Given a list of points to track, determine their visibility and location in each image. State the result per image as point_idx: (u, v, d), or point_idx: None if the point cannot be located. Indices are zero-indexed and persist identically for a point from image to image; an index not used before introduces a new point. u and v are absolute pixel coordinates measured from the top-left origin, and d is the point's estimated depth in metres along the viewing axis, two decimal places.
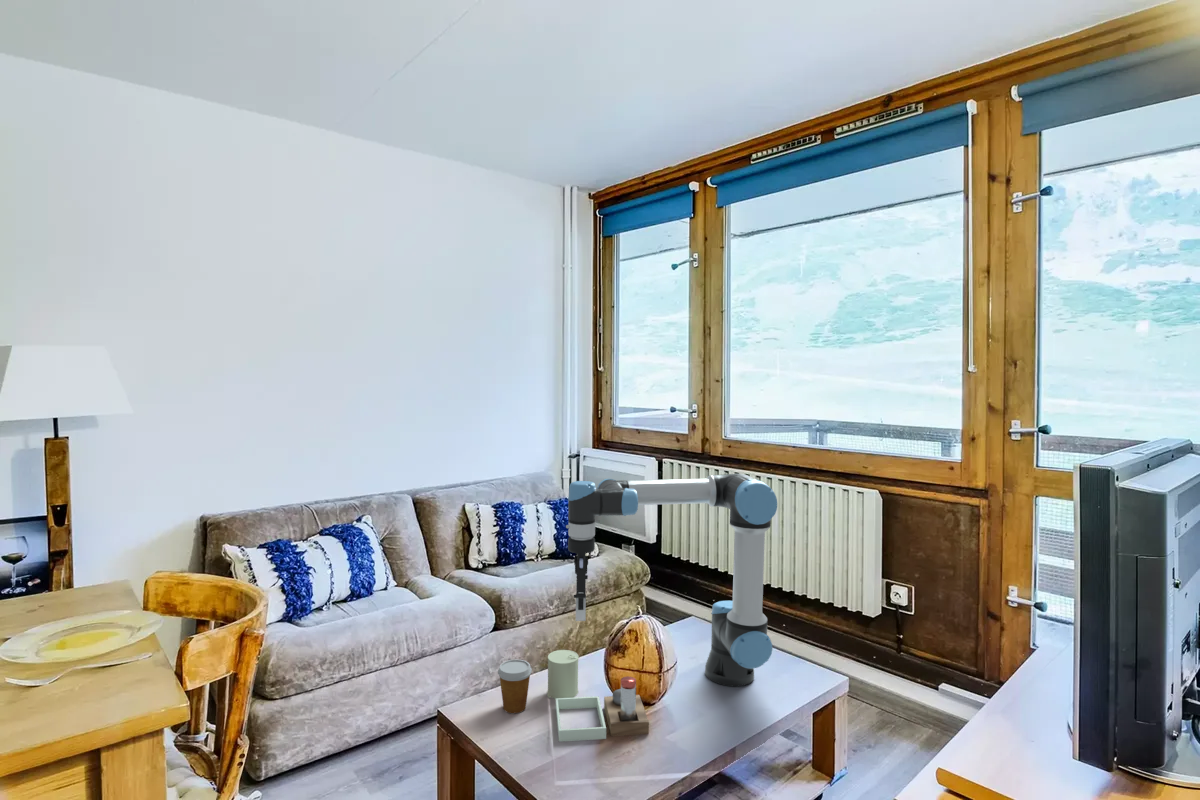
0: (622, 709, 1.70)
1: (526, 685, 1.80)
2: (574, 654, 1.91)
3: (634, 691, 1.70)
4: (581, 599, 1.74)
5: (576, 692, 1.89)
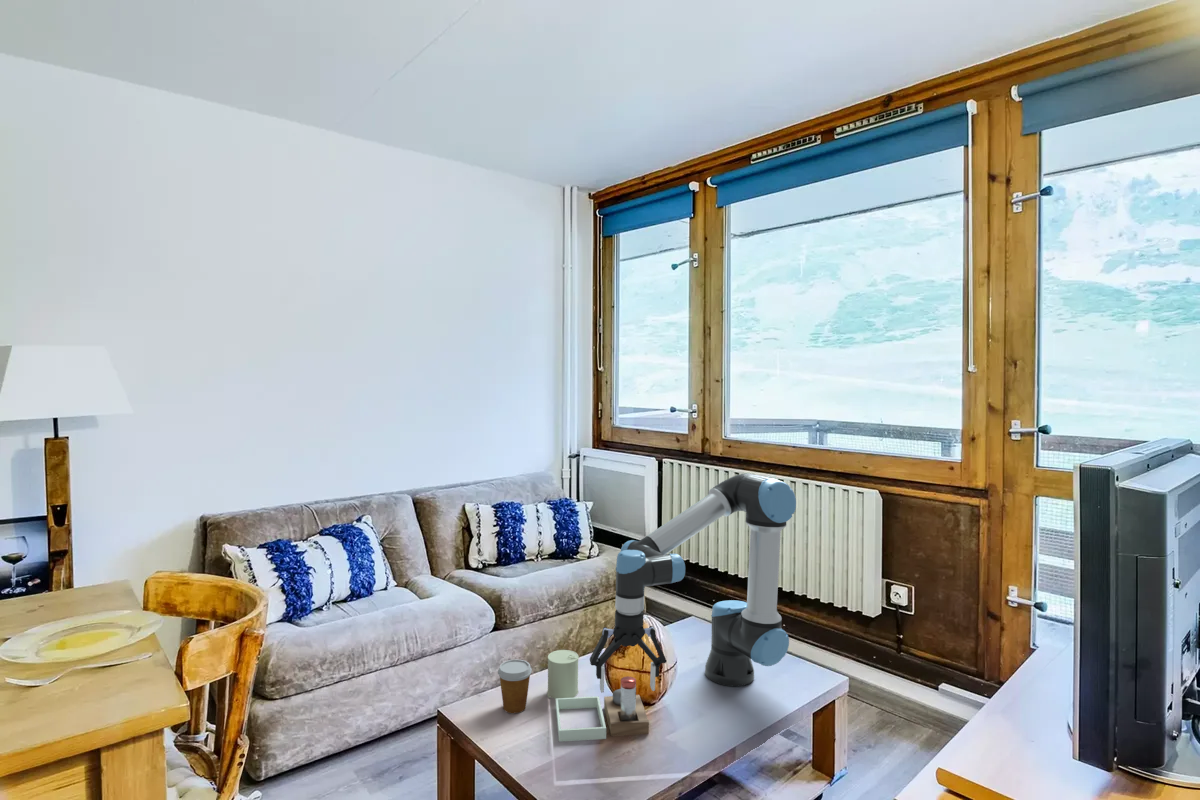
0: (622, 709, 1.70)
1: (526, 685, 1.80)
2: (574, 654, 1.91)
3: (634, 691, 1.70)
4: (596, 666, 1.70)
5: (576, 692, 1.89)
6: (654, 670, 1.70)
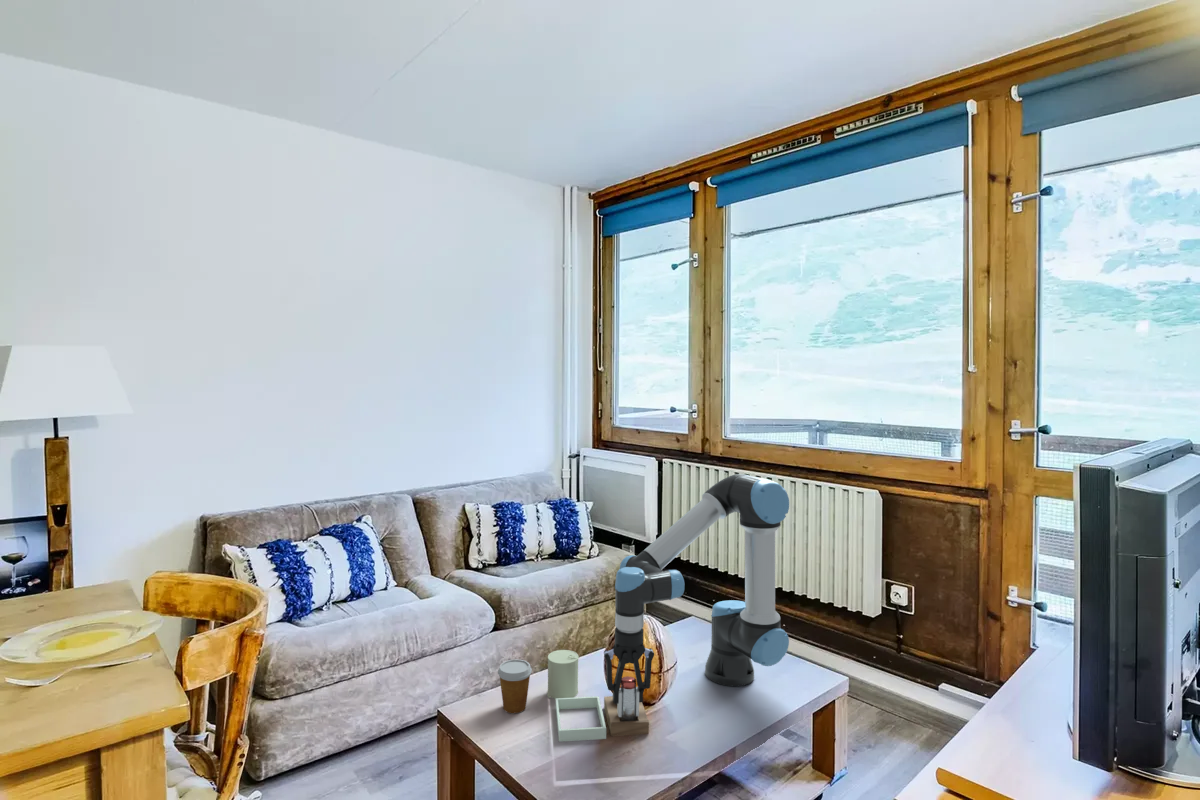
0: (622, 709, 1.70)
1: (526, 685, 1.80)
2: (574, 654, 1.91)
3: (634, 691, 1.70)
4: None
5: (576, 692, 1.89)
6: (638, 696, 1.70)
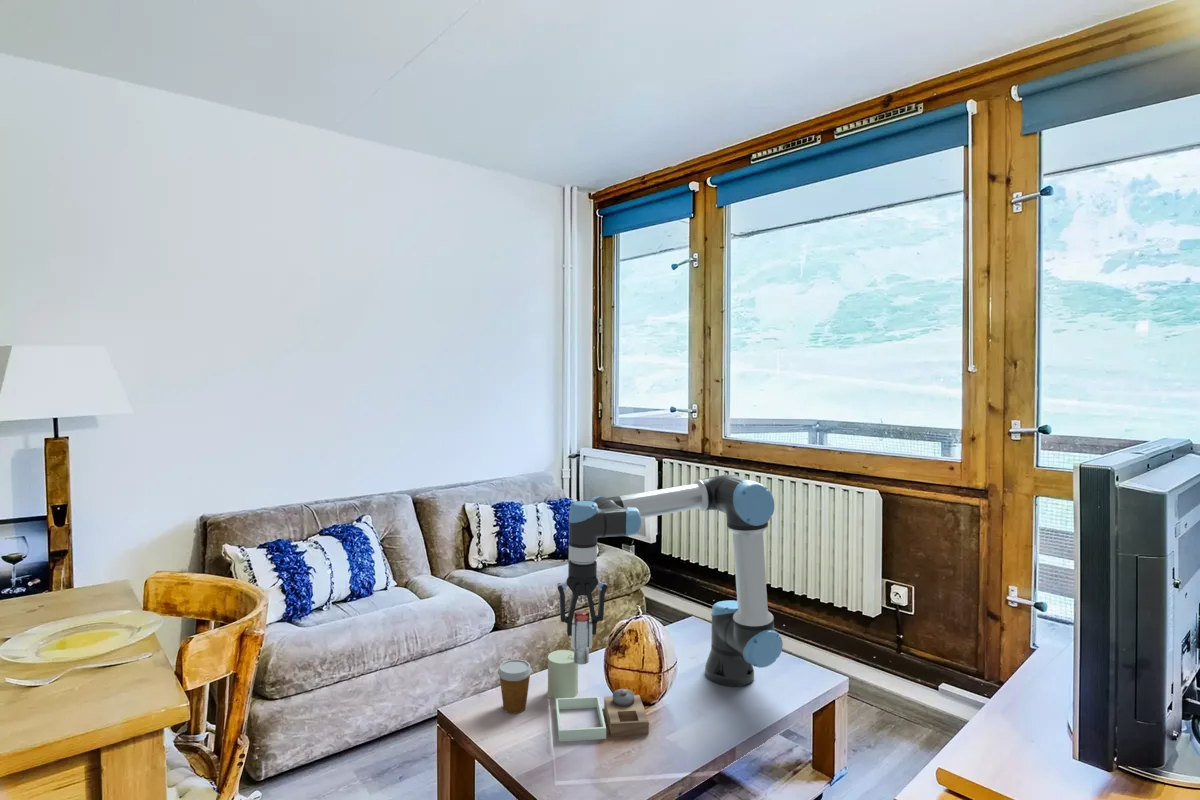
0: (575, 642, 1.71)
1: (526, 685, 1.80)
2: None
3: (587, 624, 1.71)
4: (567, 624, 1.72)
5: (576, 692, 1.89)
6: (591, 628, 1.71)
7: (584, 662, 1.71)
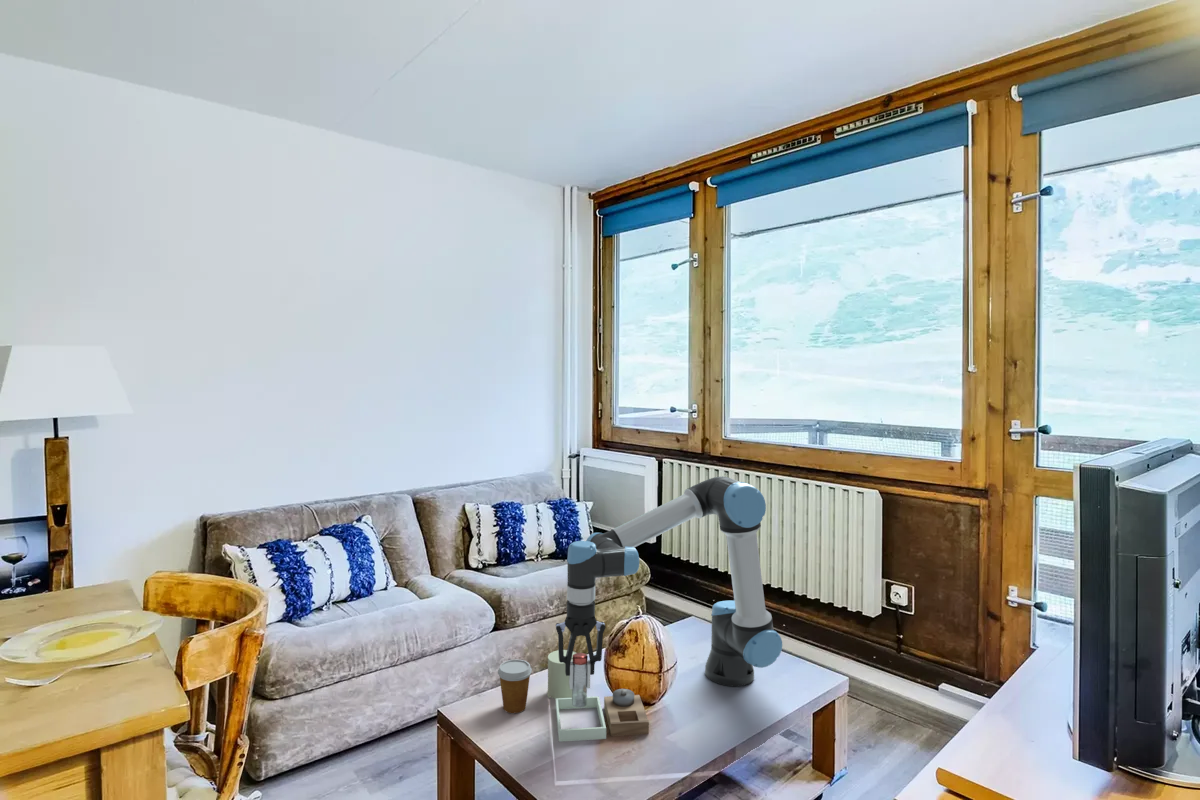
0: (573, 685, 1.72)
1: (526, 685, 1.80)
2: None
3: (585, 667, 1.72)
4: (565, 663, 1.72)
5: None
6: (589, 668, 1.72)
7: (582, 705, 1.72)
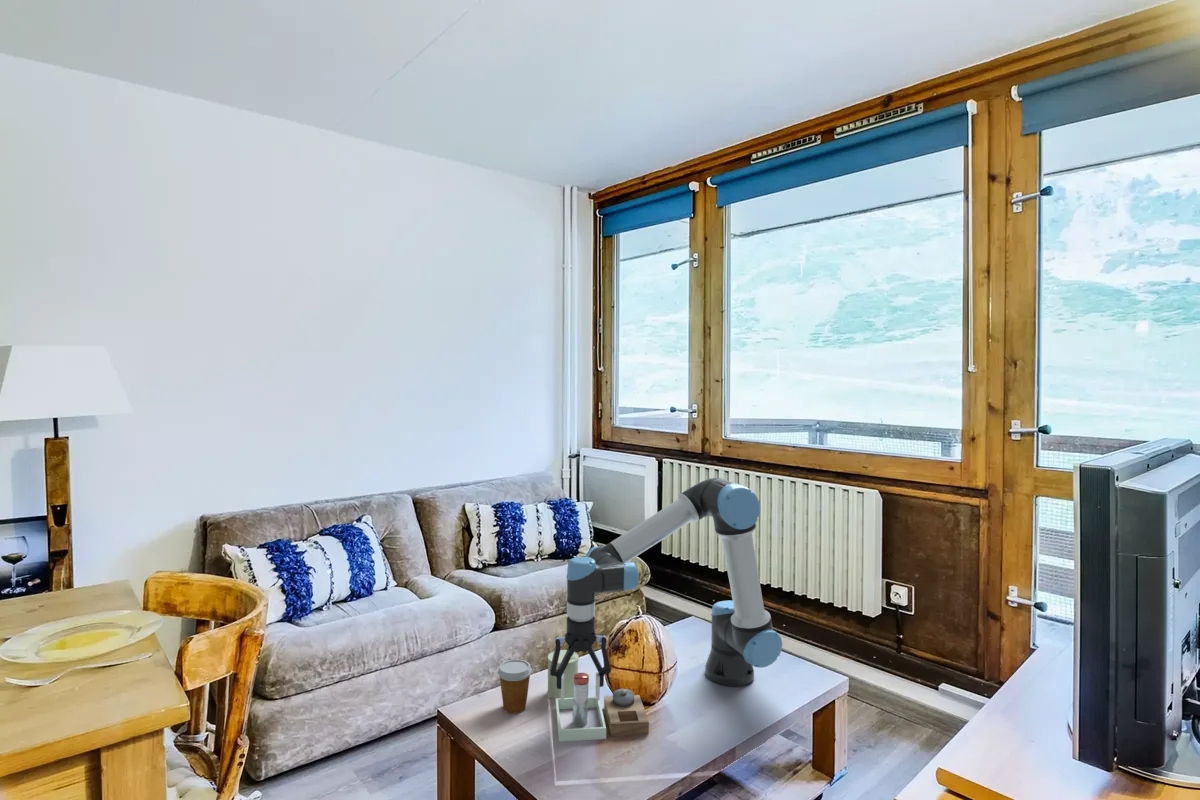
0: (574, 705, 1.72)
1: (526, 685, 1.80)
2: (574, 654, 1.91)
3: (586, 687, 1.72)
4: None
5: None
6: (598, 680, 1.72)
7: (583, 725, 1.72)
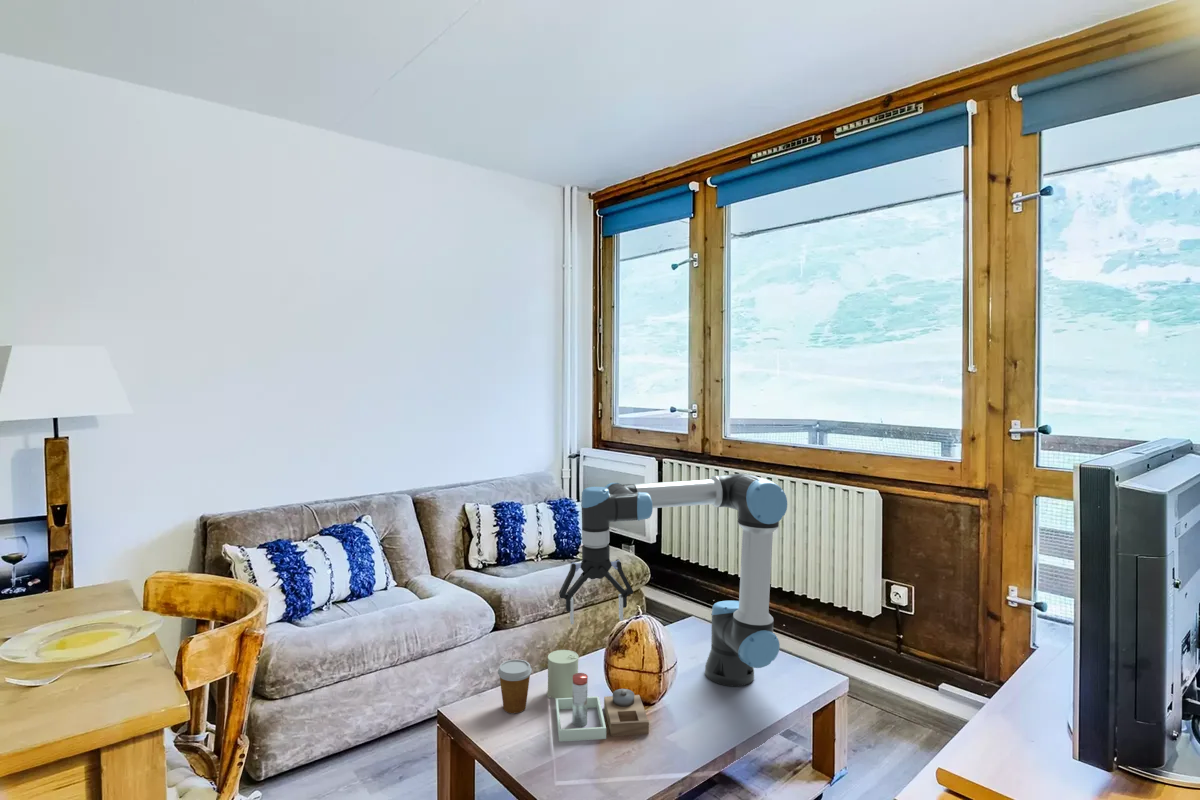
0: (574, 705, 1.72)
1: (526, 685, 1.80)
2: (574, 654, 1.91)
3: (585, 687, 1.72)
4: None
5: None
6: (622, 601, 1.76)
7: (583, 725, 1.72)
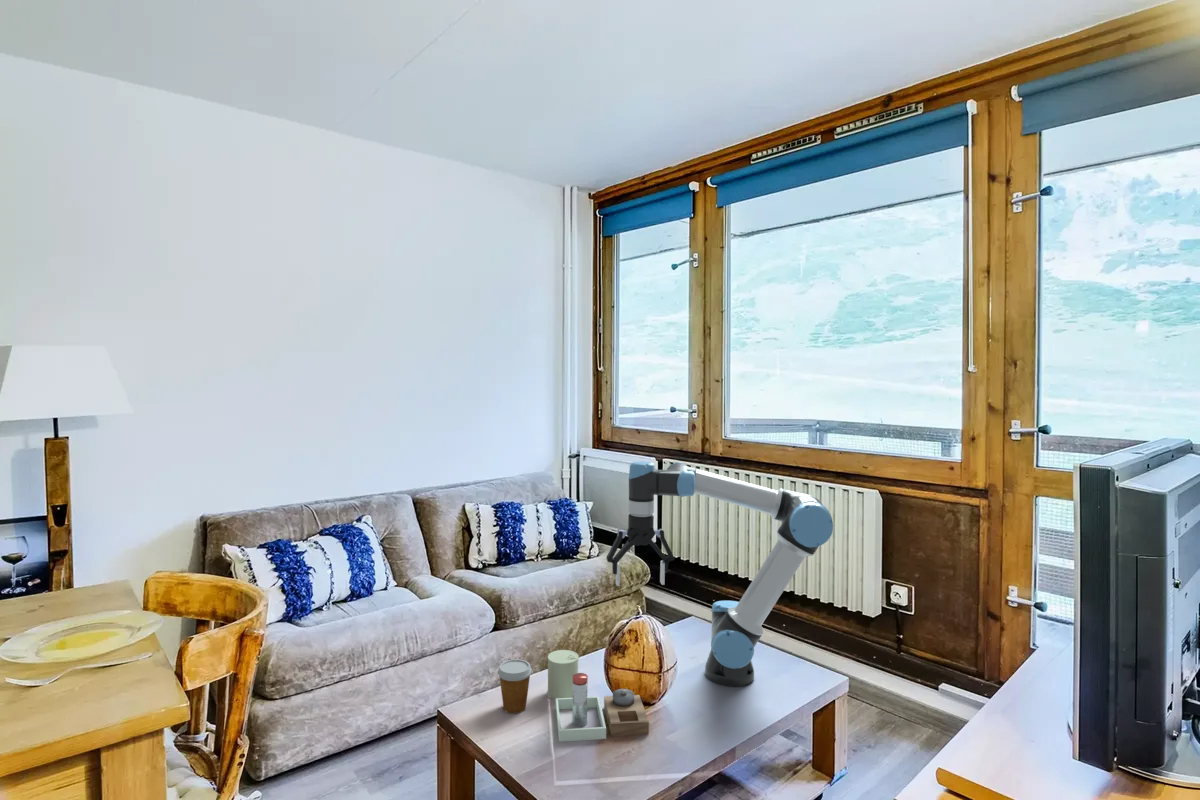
0: (574, 705, 1.72)
1: (526, 685, 1.80)
2: (574, 654, 1.91)
3: (585, 687, 1.72)
4: (612, 564, 1.92)
5: None
6: (663, 566, 1.93)
7: (583, 725, 1.72)
